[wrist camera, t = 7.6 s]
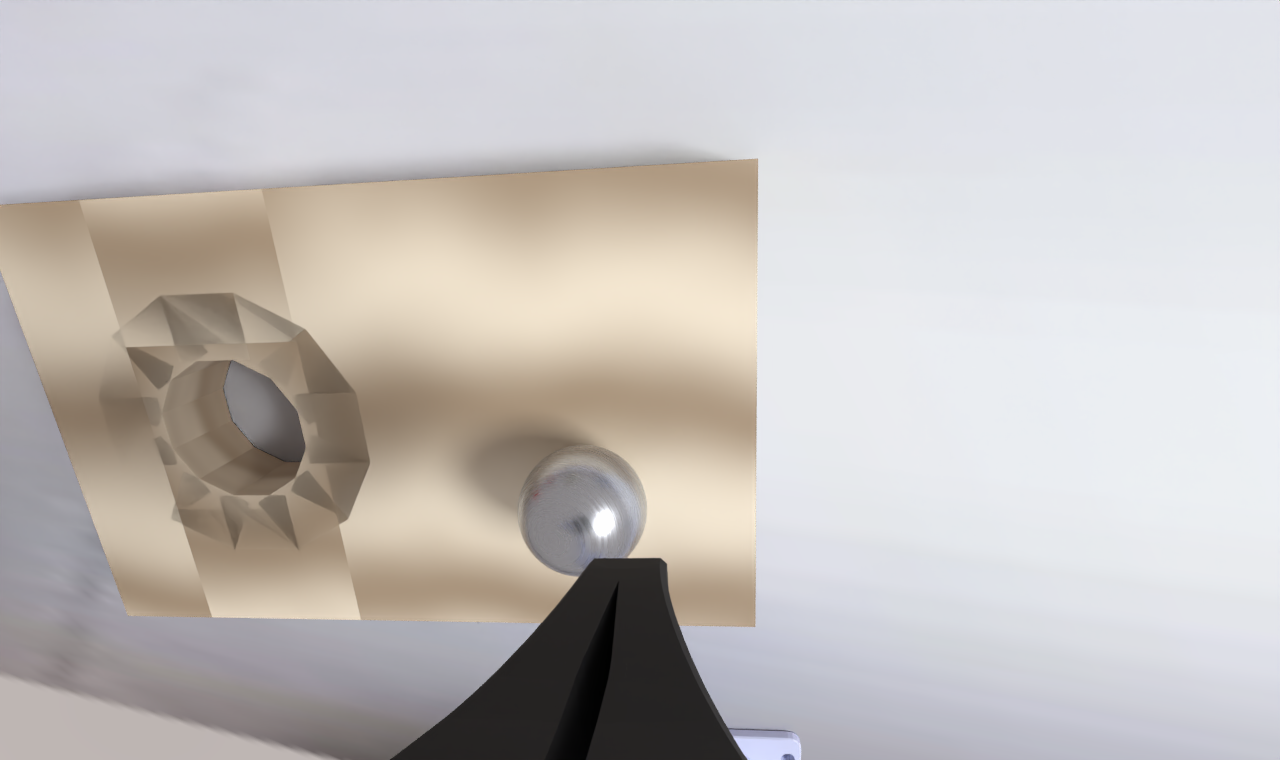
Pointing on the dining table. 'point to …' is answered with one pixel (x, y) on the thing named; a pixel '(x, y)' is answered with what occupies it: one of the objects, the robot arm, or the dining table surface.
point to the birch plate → (401, 383)
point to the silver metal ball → (581, 508)
